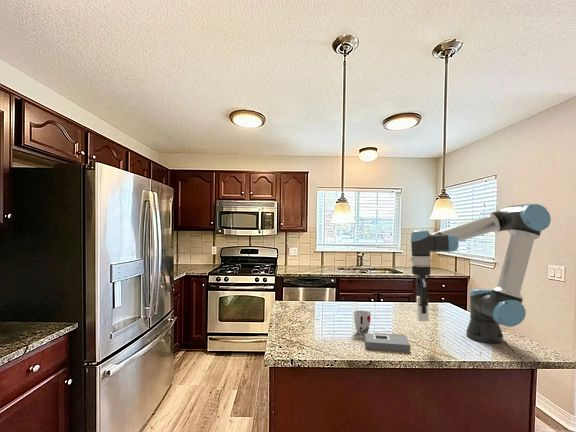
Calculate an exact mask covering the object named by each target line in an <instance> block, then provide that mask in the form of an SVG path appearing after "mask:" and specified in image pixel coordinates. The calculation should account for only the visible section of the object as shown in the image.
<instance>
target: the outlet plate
mask: <svg viewBox="0 0 576 432" xmlns="http://www.w3.org/2000/svg"><path fill="white" fill-rule="evenodd" d="M385 334H386V333H385ZM385 334H375V333H369V332H368V333H365V335H364V342H365V343H364V344H365V349H366V350H375V351H387V352H388V351H389V352H400V353H401V352H402V353H411V345H410V343H409V340H408V338H407V336H406V335H405V336H399V335H385Z"/></svg>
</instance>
